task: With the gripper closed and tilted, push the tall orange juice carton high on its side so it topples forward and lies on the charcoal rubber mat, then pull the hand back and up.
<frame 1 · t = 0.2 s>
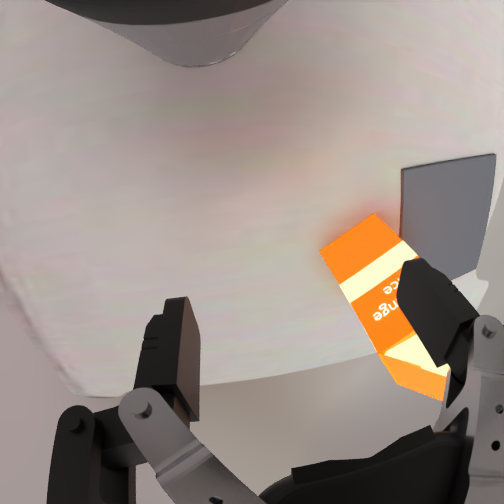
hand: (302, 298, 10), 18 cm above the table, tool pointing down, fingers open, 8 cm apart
mat: (448, 228, 33), on the table
orange juice: (360, 255, 33), on the table
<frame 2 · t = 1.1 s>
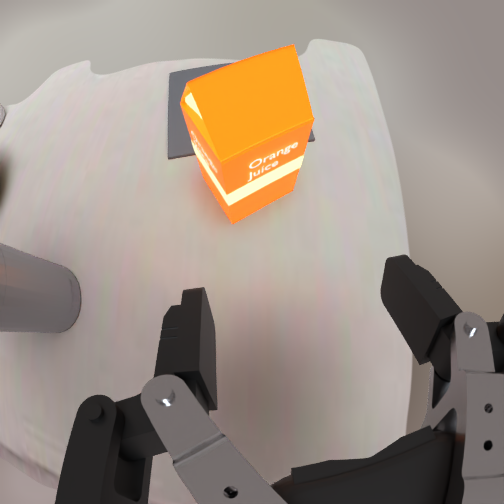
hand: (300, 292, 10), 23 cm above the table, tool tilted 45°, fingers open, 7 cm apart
mat: (234, 100, 39), on the table
orange juice: (247, 183, 36), on the table
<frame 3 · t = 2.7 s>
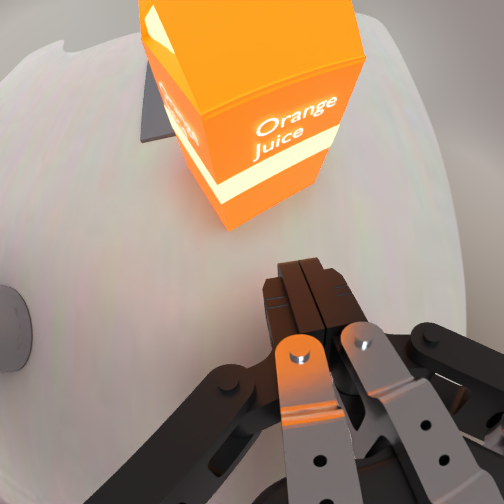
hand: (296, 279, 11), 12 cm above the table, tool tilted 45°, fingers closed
mat: (231, 68, 28), on the table
orange juice: (249, 173, 25), on the table
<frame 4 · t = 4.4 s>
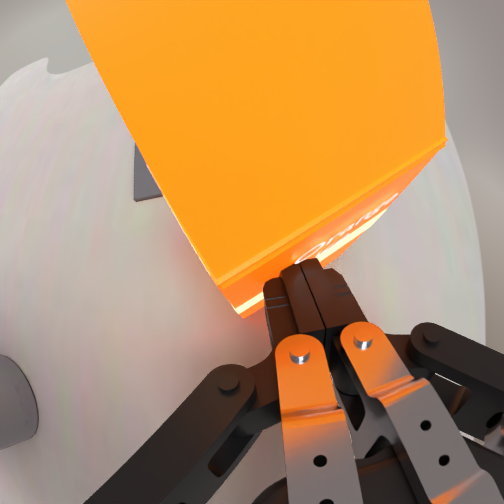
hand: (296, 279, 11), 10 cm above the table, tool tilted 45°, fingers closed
mat: (238, 101, 25), on the table
orange juice: (265, 245, 22), on the table, touching gripper
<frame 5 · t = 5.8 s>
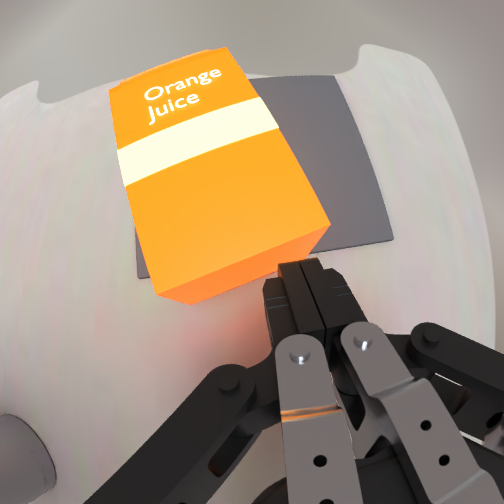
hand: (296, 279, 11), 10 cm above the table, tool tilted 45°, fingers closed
mat: (251, 154, 23), on the table
orange juice: (248, 276, 17), point 4 cm above the table, touching mat
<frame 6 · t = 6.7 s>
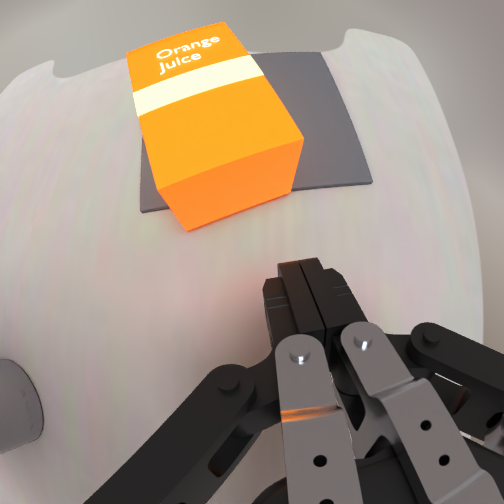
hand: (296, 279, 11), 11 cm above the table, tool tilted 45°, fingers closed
mat: (245, 112, 26), on the table
orange juice: (237, 193, 19), point 4 cm above the table, touching mat
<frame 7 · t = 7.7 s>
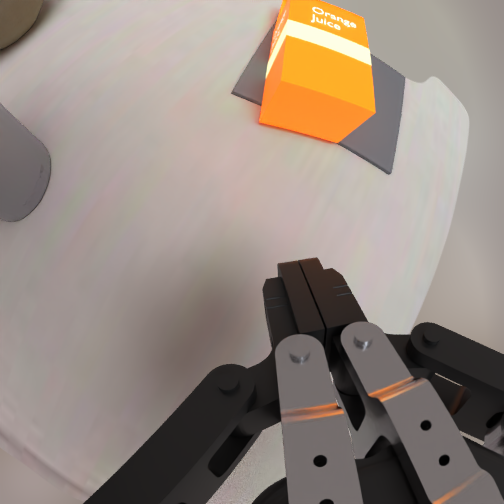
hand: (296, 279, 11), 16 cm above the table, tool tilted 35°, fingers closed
mat: (334, 79, 30), on the table
orange juice: (313, 117, 24), point 4 cm above the table, touching mat
flower pot: (14, 31, 21), on the table
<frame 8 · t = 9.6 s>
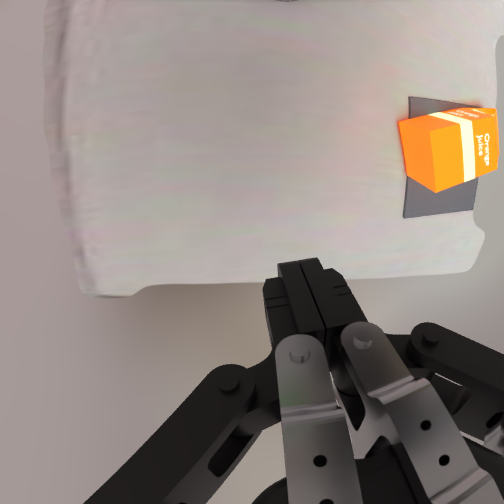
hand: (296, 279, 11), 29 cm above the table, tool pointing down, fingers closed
mat: (447, 159, 39), on the table
orange juice: (416, 155, 34), point 4 cm above the table, touching mat
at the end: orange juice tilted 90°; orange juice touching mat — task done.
